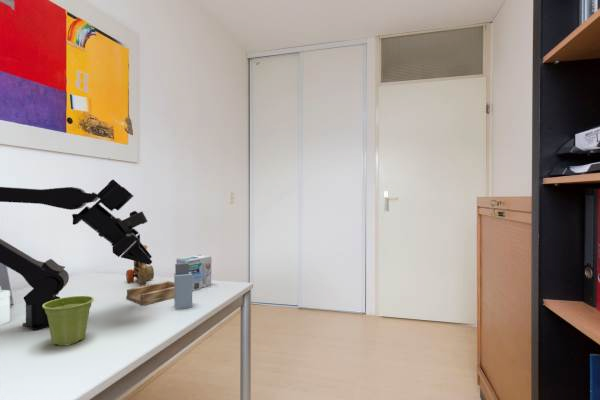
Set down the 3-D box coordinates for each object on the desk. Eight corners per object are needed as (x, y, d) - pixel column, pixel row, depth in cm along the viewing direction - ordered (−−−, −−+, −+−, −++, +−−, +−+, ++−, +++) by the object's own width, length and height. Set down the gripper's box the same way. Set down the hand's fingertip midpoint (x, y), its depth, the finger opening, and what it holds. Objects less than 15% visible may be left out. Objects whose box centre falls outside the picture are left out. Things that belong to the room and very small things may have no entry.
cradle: (143, 305, 99) (143, 295, 99) (126, 298, 106) (126, 289, 106) (185, 294, 110) (185, 285, 110) (167, 289, 117) (167, 280, 117)
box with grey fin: (175, 309, 95) (175, 265, 95) (174, 305, 99) (174, 263, 99) (192, 307, 97) (192, 264, 97) (190, 303, 101) (190, 261, 101)
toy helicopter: (147, 277, 134) (147, 243, 134) (164, 288, 118) (164, 249, 118) (125, 281, 129) (125, 245, 129) (138, 292, 113) (138, 251, 113)
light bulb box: (188, 292, 113) (188, 260, 113) (175, 289, 117) (175, 258, 117) (212, 285, 122) (212, 255, 122) (199, 282, 126) (199, 254, 126)
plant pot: (44, 337, 76) (44, 299, 76) (93, 329, 81) (93, 293, 81) (40, 353, 68) (40, 311, 68) (94, 342, 73) (94, 303, 73)
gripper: (126, 201, 84) (174, 242, 88) (129, 201, 101) (169, 235, 105) (90, 235, 80) (142, 276, 85) (99, 229, 97) (142, 263, 102)
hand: (150, 260), depth 95 cm, fingers open, 9 cm apart
